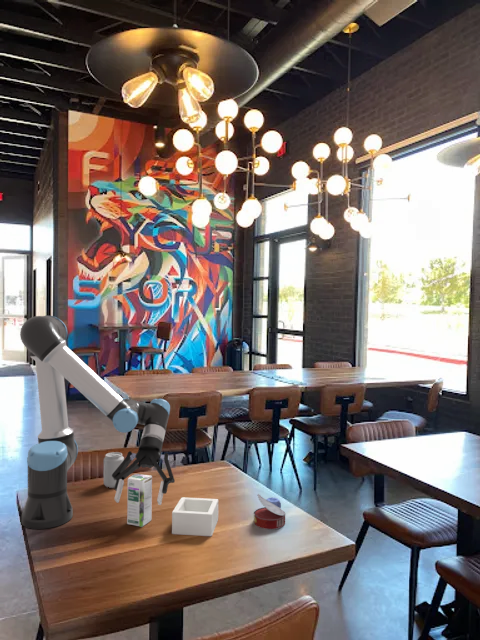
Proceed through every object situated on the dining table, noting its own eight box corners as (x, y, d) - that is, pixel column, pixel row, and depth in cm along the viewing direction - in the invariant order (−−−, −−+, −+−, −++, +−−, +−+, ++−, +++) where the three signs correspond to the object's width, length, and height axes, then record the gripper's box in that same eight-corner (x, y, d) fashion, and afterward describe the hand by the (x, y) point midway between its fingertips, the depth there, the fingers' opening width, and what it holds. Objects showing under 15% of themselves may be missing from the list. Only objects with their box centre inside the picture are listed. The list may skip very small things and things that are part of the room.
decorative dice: (273, 515, 161) (273, 502, 161) (264, 511, 163) (264, 499, 163) (281, 511, 164) (281, 499, 164) (271, 508, 166) (271, 496, 166)
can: (112, 490, 182) (112, 458, 182) (99, 485, 186) (99, 454, 186) (128, 484, 188) (128, 453, 188) (115, 480, 192) (115, 450, 192)
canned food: (262, 530, 160) (267, 498, 164) (289, 535, 154) (294, 502, 158) (243, 524, 152) (249, 491, 156) (271, 529, 146) (276, 494, 150)
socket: (211, 536, 145) (211, 514, 145) (172, 533, 146) (172, 512, 146) (218, 519, 157) (218, 499, 157) (181, 517, 158) (181, 497, 158)
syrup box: (126, 524, 153) (126, 478, 152) (137, 517, 158) (137, 472, 158) (142, 527, 150) (142, 480, 150) (152, 520, 156) (152, 474, 156)
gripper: (189, 448, 168) (179, 509, 153) (119, 445, 171) (102, 504, 156) (186, 436, 163) (174, 498, 148) (113, 433, 165) (95, 494, 151)
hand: (137, 502), depth 152 cm, fingers open, 13 cm apart
